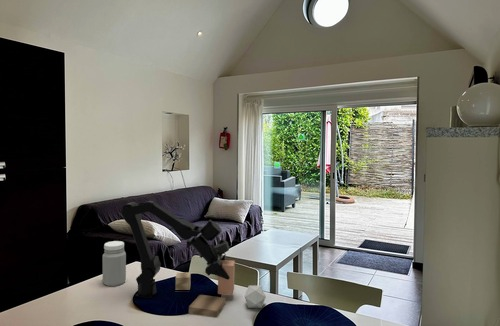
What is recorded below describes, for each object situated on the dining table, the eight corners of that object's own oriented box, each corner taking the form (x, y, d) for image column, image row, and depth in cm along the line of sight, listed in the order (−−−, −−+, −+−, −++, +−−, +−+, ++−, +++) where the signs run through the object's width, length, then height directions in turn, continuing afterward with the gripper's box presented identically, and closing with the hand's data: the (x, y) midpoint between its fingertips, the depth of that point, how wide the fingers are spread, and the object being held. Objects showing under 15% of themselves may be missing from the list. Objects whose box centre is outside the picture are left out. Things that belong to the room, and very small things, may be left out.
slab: (188, 314, 131) (188, 306, 131) (199, 301, 142) (199, 294, 142) (216, 318, 129) (216, 310, 129) (225, 305, 140) (225, 298, 139)
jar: (117, 276, 165) (117, 239, 164) (130, 282, 160) (130, 243, 158) (98, 283, 157) (97, 243, 156) (110, 289, 152) (110, 248, 151)
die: (258, 315, 132) (271, 292, 135) (239, 302, 134) (252, 279, 136) (257, 313, 140) (269, 291, 143) (239, 300, 141) (251, 279, 144)
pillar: (217, 294, 142) (218, 265, 142) (220, 288, 148) (220, 260, 148) (232, 294, 142) (233, 265, 141) (234, 288, 148) (234, 260, 147)
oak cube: (175, 291, 151) (175, 277, 150) (176, 285, 157) (176, 272, 156) (189, 291, 151) (189, 277, 151) (190, 285, 157) (190, 272, 157)
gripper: (214, 241, 135) (242, 271, 135) (221, 229, 153) (245, 255, 153) (193, 260, 136) (221, 290, 136) (202, 246, 154) (227, 272, 154)
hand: (229, 275), depth 145 cm, fingers closed on pillar, 6 cm apart
